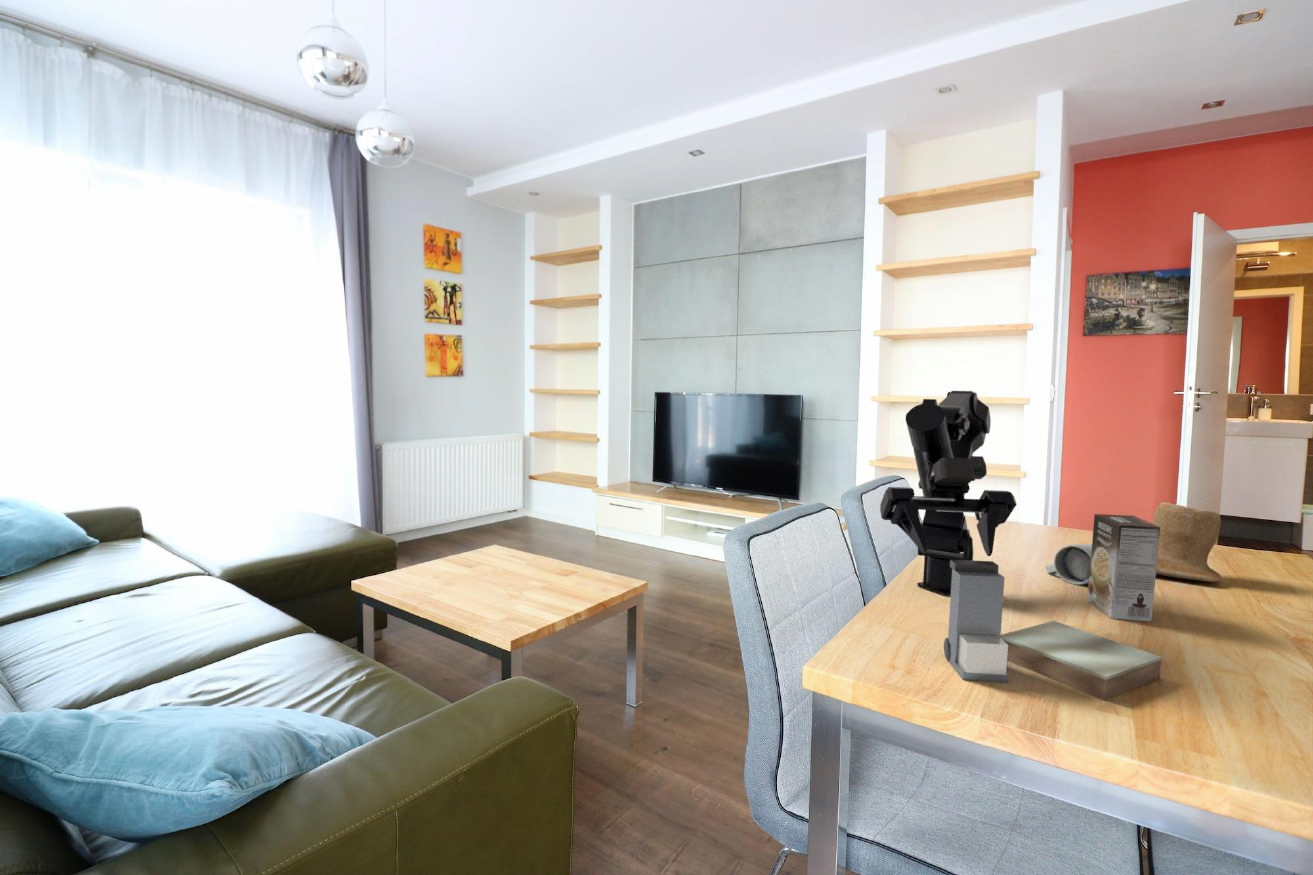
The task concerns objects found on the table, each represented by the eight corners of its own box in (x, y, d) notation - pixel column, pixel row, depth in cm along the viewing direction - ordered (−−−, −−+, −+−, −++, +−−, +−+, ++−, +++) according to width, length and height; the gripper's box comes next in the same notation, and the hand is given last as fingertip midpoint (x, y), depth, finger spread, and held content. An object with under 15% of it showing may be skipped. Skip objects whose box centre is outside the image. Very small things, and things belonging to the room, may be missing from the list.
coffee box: (1085, 600, 114) (1092, 512, 112) (1125, 603, 113) (1132, 515, 111) (1110, 619, 105) (1118, 524, 103) (1154, 622, 104) (1163, 526, 102)
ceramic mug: (1115, 583, 124) (1117, 545, 124) (1093, 589, 120) (1095, 549, 120) (1058, 570, 133) (1060, 534, 133) (1036, 575, 129) (1038, 538, 129)
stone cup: (1219, 576, 130) (1226, 504, 129) (1221, 590, 121) (1228, 513, 120) (1128, 561, 140) (1133, 495, 139) (1123, 573, 131) (1129, 502, 130)
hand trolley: (943, 654, 90) (948, 558, 89) (984, 657, 89) (990, 560, 88) (962, 679, 82) (969, 574, 81) (1007, 682, 82) (1015, 576, 80)
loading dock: (997, 655, 90) (998, 635, 90) (1052, 639, 96) (1053, 620, 96) (1104, 700, 77) (1106, 676, 77) (1159, 678, 83) (1161, 657, 83)
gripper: (888, 435, 98) (904, 521, 88) (1015, 438, 96) (1046, 526, 86) (874, 478, 107) (887, 560, 97) (990, 481, 105) (1016, 566, 95)
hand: (957, 553), depth 93 cm, fingers open, 9 cm apart
